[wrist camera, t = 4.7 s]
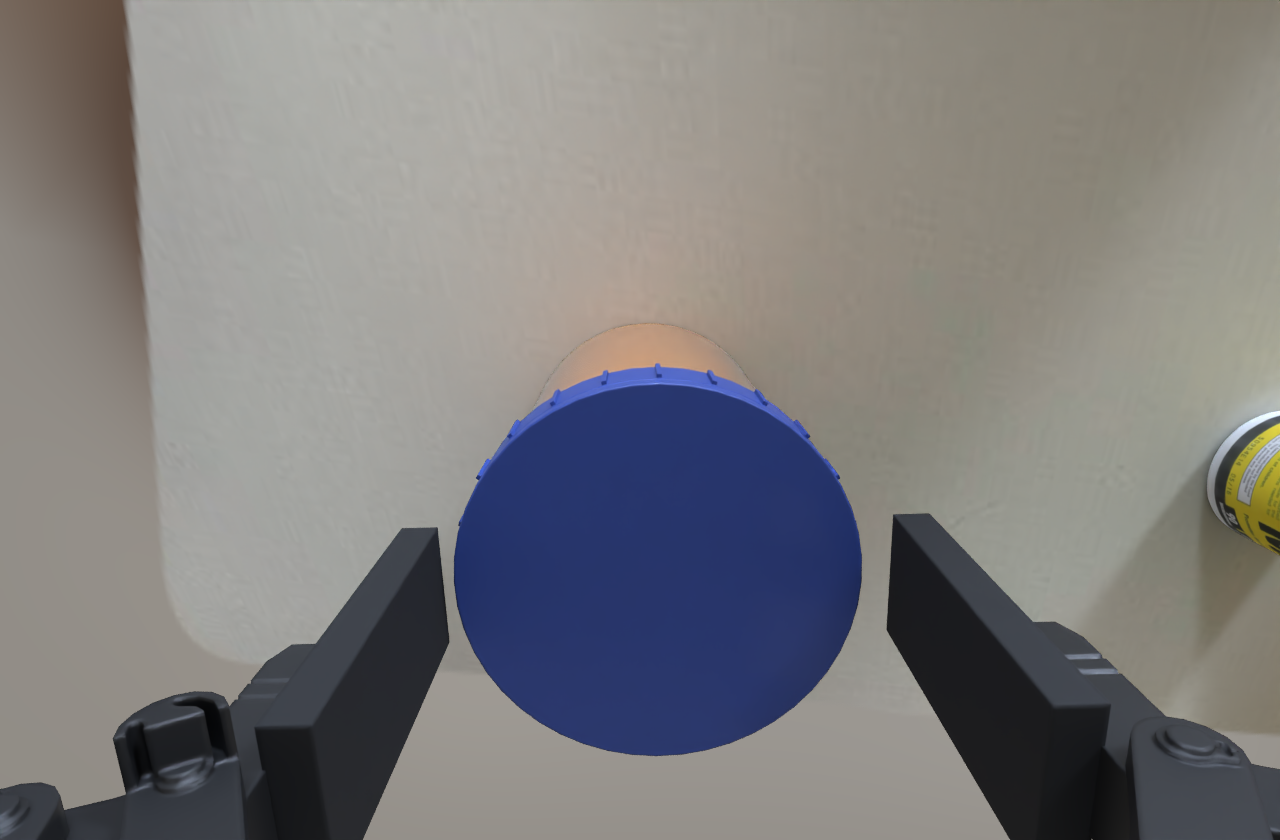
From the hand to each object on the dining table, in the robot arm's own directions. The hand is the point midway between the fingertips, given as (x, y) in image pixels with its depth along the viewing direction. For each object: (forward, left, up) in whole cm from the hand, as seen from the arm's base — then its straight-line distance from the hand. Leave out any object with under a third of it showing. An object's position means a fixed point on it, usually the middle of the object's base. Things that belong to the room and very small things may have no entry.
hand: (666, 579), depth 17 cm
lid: (0, 0, 0) cm, 0 cm away
